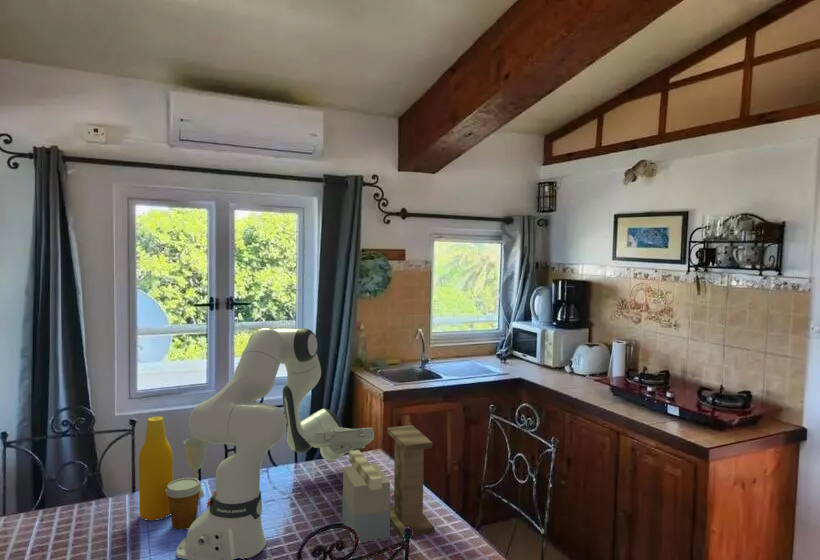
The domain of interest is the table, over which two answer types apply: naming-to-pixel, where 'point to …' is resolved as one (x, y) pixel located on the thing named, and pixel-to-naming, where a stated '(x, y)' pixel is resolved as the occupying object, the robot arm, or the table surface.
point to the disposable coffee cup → (183, 501)
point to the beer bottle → (155, 471)
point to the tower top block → (365, 493)
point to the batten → (365, 470)
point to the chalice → (195, 456)
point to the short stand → (409, 481)
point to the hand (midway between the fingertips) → (347, 431)
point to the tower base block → (367, 523)
